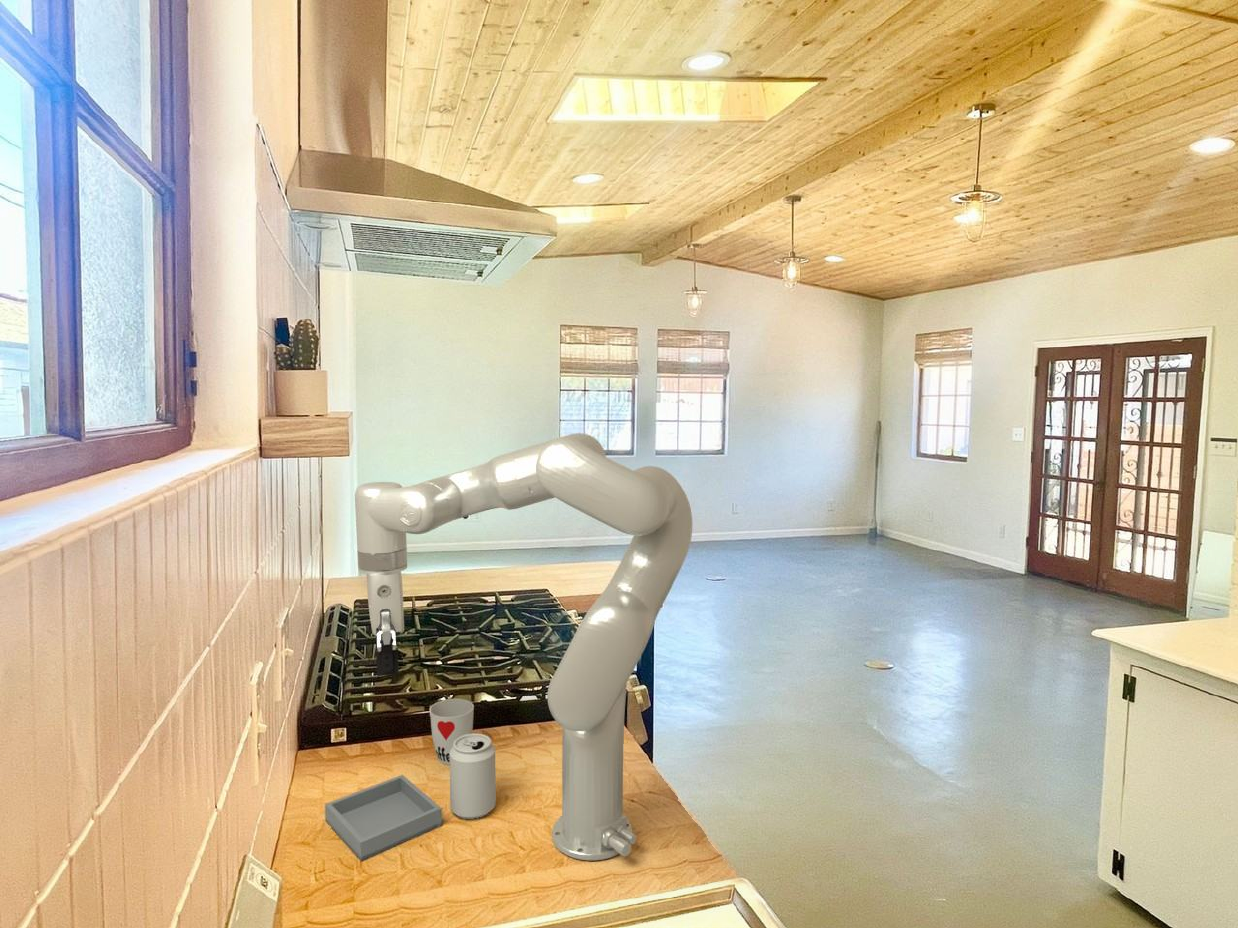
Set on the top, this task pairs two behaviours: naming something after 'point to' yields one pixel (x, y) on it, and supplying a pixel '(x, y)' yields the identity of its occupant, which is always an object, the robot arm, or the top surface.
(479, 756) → the can
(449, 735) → the cup
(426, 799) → the bin
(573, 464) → the robot arm
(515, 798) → the top surface
